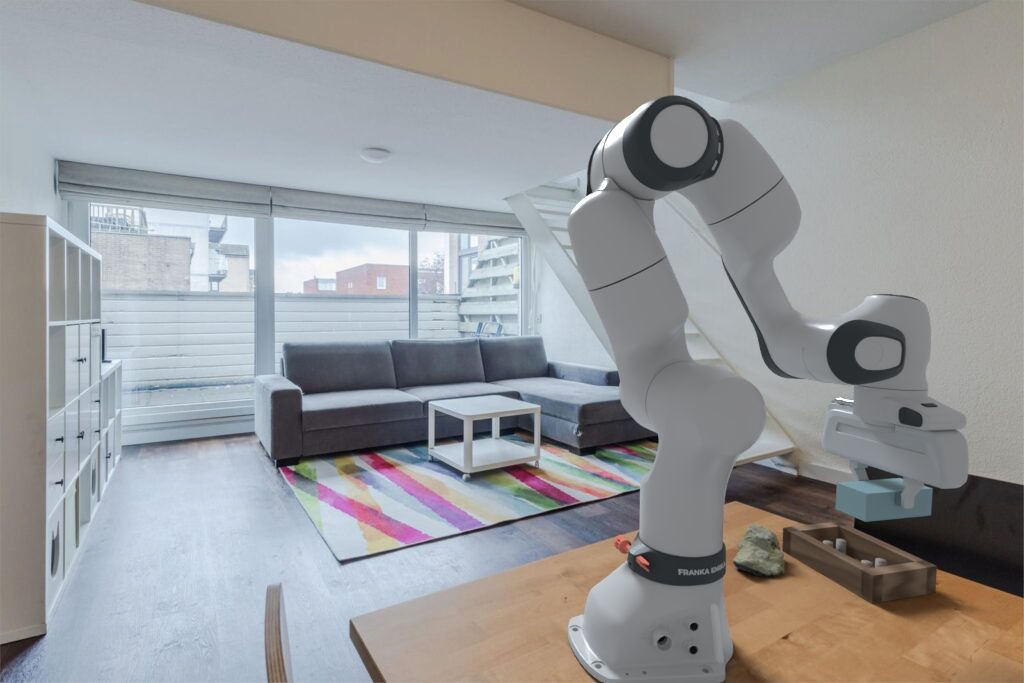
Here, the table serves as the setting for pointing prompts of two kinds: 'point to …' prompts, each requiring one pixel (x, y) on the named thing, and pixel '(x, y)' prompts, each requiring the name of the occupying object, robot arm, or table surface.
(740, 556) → the rock
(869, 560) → the frame
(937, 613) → the table surface
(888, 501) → the light blue rectangular block
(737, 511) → the table surface
